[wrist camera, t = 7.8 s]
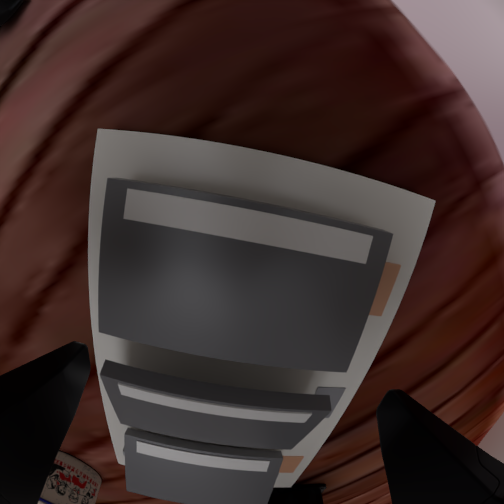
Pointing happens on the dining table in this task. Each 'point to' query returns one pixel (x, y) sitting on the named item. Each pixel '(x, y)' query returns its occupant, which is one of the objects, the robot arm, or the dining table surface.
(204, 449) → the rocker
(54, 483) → the teacup with lid
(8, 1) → the can opener
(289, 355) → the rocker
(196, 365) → the switch panel
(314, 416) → the panel
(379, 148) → the dining table surface
